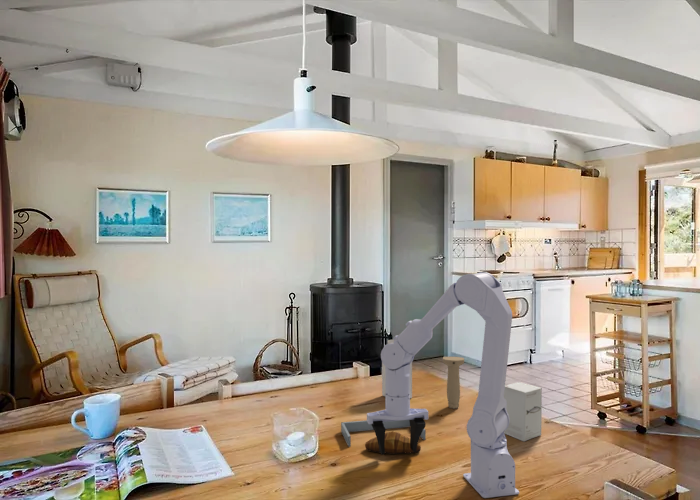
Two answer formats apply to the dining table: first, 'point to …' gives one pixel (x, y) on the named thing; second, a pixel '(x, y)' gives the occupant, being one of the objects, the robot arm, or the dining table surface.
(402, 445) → the croissant
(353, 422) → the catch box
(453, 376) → the handle
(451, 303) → the robot arm
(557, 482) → the dining table surface
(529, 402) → the supplement box
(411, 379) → the milk carton
